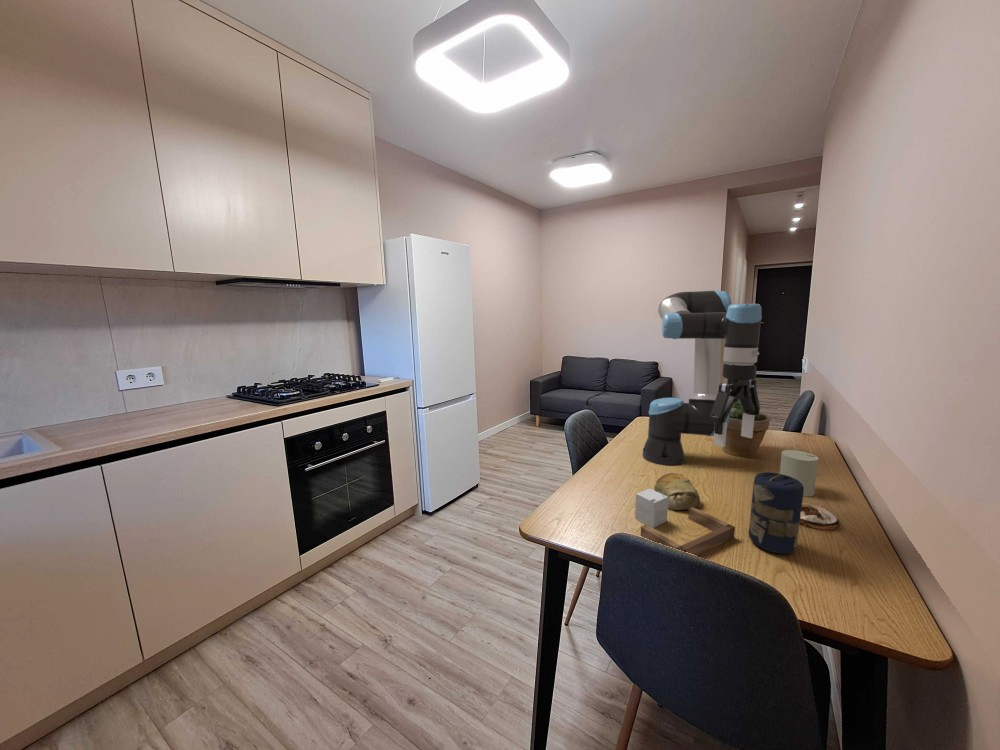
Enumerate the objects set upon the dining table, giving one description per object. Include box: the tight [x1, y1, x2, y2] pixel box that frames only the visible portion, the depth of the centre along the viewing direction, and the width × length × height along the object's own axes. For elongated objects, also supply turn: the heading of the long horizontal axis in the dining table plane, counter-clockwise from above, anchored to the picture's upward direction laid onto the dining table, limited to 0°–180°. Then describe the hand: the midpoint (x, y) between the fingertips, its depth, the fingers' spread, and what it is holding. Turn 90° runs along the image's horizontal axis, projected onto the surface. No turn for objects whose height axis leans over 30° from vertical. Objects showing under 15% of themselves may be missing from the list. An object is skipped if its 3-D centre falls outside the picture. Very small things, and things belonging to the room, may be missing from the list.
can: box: [779, 449, 819, 498], centre depth 118 cm, size 9×9×12 cm
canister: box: [748, 471, 804, 555], centre depth 90 cm, size 10×10×18 cm
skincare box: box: [634, 488, 669, 529], centre depth 102 cm, size 6×6×7 cm
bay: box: [640, 507, 736, 556], centre depth 94 cm, size 12×20×3 cm, turn 118°
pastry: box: [654, 472, 701, 511], centre depth 113 cm, size 14×12×8 cm
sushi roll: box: [799, 502, 840, 531], centre depth 103 cm, size 15×15×4 cm
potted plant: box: [721, 398, 772, 458], centre depth 150 cm, size 18×19×25 cm
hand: (733, 441), depth 102 cm, fingers open, 13 cm apart
